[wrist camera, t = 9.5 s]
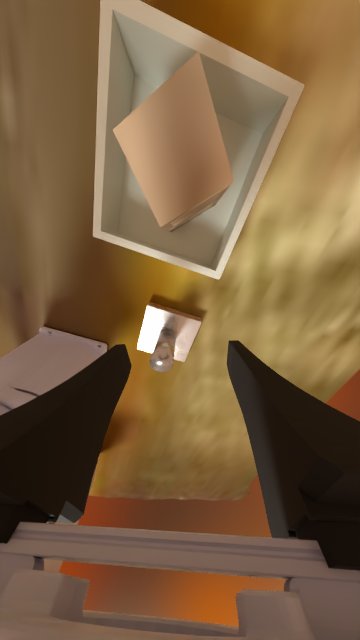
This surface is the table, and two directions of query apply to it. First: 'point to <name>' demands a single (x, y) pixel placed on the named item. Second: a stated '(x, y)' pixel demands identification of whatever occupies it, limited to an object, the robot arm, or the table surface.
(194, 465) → the table surface
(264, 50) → the table surface
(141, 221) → the bin
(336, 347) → the table surface
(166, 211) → the socket block
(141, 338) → the stud plate
